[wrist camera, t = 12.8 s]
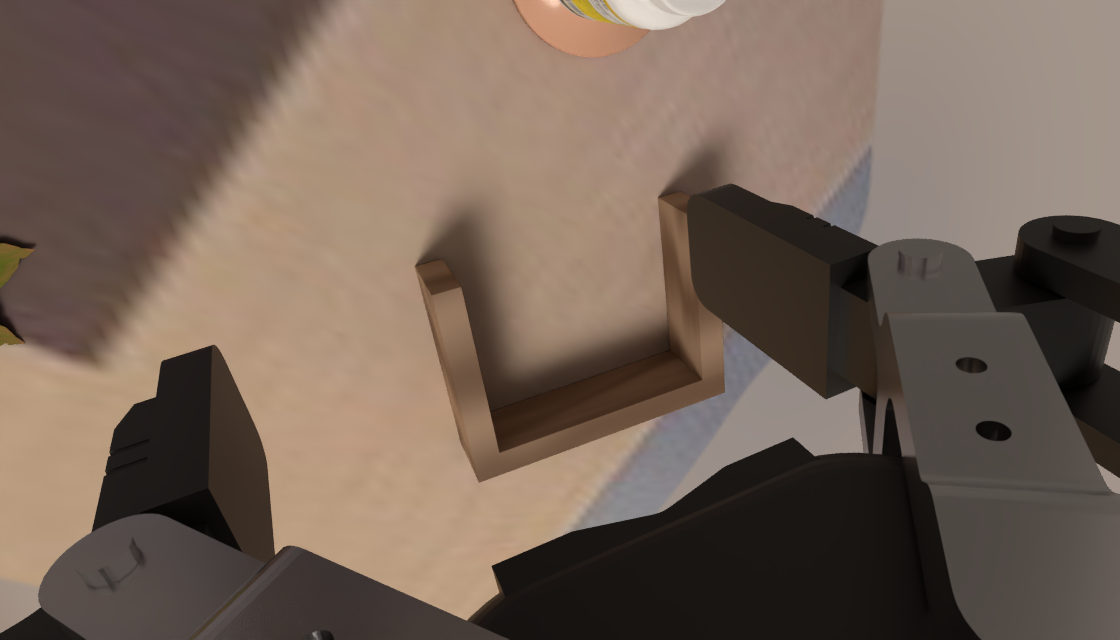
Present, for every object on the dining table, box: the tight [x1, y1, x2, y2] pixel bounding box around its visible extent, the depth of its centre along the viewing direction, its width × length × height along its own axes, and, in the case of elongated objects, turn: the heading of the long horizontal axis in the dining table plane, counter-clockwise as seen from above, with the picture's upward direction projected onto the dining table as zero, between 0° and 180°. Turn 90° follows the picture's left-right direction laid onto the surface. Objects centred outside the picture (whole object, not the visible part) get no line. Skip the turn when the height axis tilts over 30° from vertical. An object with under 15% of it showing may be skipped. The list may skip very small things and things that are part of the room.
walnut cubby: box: [415, 191, 725, 483], centre depth 43 cm, size 12×16×4 cm
